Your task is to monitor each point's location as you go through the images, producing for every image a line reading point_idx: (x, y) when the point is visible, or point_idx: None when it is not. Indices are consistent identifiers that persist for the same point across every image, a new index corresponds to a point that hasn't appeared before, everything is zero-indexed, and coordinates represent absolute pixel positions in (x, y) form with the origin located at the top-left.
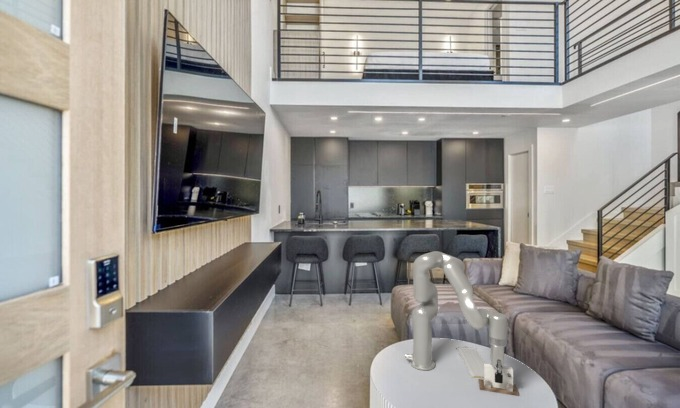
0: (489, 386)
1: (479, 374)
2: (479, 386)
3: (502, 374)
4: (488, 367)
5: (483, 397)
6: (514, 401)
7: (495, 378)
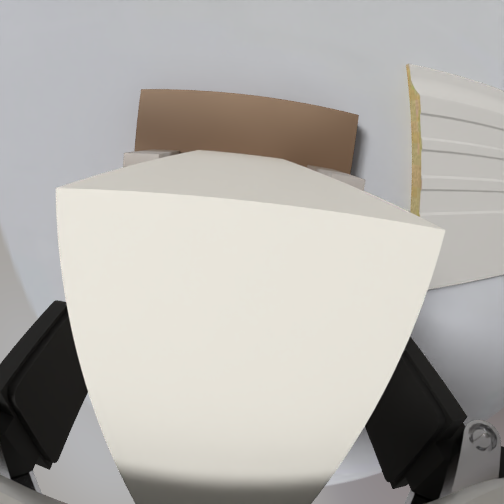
0: None
1: (452, 164)
2: (186, 91)
3: (37, 463)
4: (90, 356)
5: (29, 125)
6: None
7: (31, 336)
